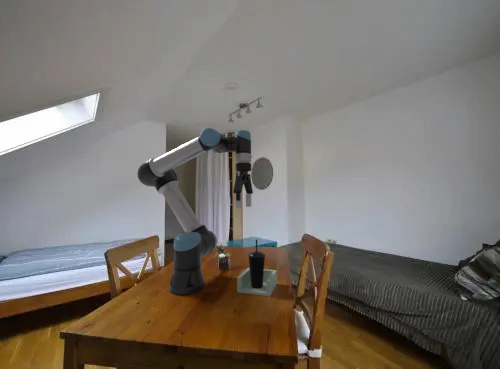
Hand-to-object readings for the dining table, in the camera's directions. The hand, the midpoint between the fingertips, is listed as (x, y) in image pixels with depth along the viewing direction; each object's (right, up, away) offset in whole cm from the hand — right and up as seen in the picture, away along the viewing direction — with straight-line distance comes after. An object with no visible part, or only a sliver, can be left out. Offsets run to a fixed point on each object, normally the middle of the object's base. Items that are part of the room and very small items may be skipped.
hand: (244, 207), depth 111 cm
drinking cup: (+6, -33, -10) cm, 35 cm away
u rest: (+6, -34, -9) cm, 36 cm away
